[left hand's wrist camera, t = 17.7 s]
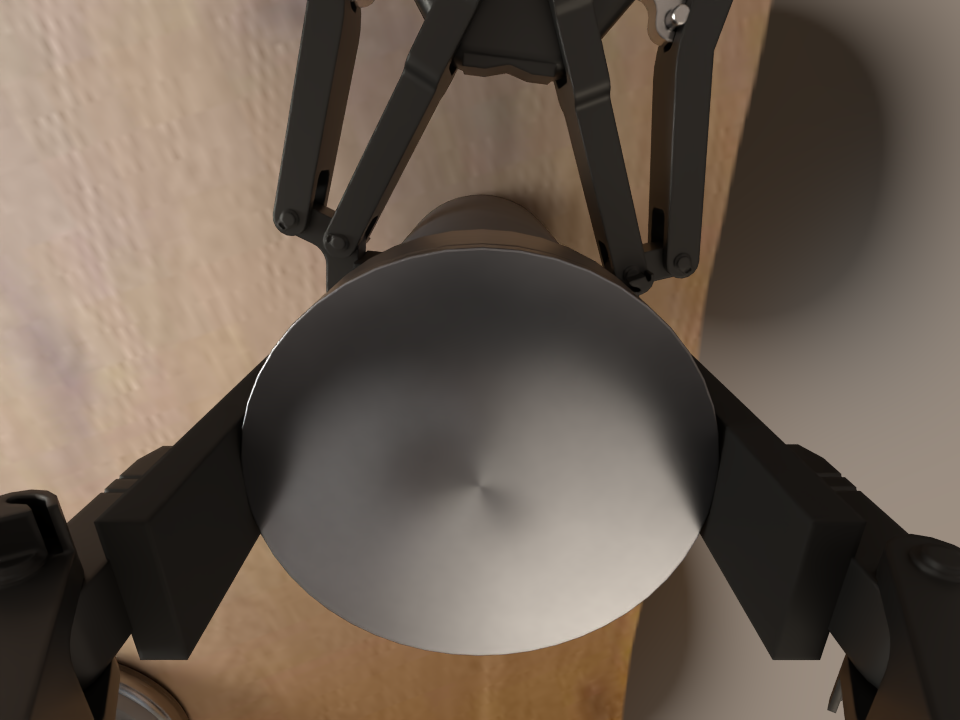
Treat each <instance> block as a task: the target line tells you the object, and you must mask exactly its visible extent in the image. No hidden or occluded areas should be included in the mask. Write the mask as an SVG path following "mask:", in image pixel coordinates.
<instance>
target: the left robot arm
mask: <svg viewBox="0 0 960 720" xmlns="http://www.w3.org/2000/svg"><path fill="white" fill-rule="evenodd" d="M691 355H692V354H691ZM268 356H269V355H268ZM268 356H267V357H266V358H265V359H264V360H263V361H262V362H260V363H259V364H258V365H257V366H256V367H255V368H254V369H253V370H252V371H251V372H250V373H249V374H248V375H247V376H246V377H245V378H244V379H243V380H242V381H241V382H240V383H238V384H237V385H236V386H235V387H234V388H233V389H232V390H231V391H230V392H229V393H228V394H227V395H226V396H225V397H224V398H223V399H222V400H221V401H220V402H219V403H218V404H216V405H215V406H214V407H213V408H212V409H211V410H210V411H209V412H208V413H207V414H206V415H205V416H204V417H203V418H202V419H201V420H200V421H199V422H198V423H197V424H196V425H194V426H193V427H192V428H191V429H190V430H189V431H188V432H187V433H186V434H185V435H184V436H183V437H182V438H181V439H180V440H179V441H178V442H177V443H176V444H175V445H174V446H162V447H160V448H158V449H157V450H155V451H153V452H151V453H149V454H147V455H146V456H144V457H142V458H140V459H138V460H137V461H136V462H135V463H133V464H132V465H131V466H130V467H129V468H128V469H127V470H126V471H125V472H123V473H122V474H121V475H120V478H119V479H116V480H115V481H113V482H112V483H111V484H110V485H109V486H108V487H107V488H106V489H105V492H104V493H100V494H99V495H98V496H97V497H96V498H94V499H93V500H92V501H91V502H90V503H89V504H88V505H87V506H85V507H84V508H83V509H82V510H81V511H80V512H79V513H78V514H77V515H75V516H74V517H73V518H72V519H71V520H70V521H69V522H68V523H66V520H65V517H64V515H63V512H62V509H61V506H60V504H59V501H58V498H57V496H56V495H54V494H53V493H51V492H49V491H45V490H26V491H19V492H12V493H8V494H4V495H1V496H0V720H189V719H188V717H187V715H186V713H185V712H184V710H183V709H182V707H181V706H180V704H179V703H178V702H177V701H176V700H175V699H174V698H173V696H172V695H171V694H170V693H168V692H167V691H166V690H165V689H164V688H163V687H161V686H160V685H159V684H157V683H156V682H154V681H153V680H151V679H150V678H148V677H146V676H145V675H143V674H141V673H139V672H137V671H135V670H133V669H131V668H128V667H126V666H123V665H121V664H118V663H117V660H116V658H115V655H116V654H117V652H118V651H119V650H120V648H121V647H122V646H123V644H124V643H125V641H126V640H127V639H128V637H129V636H130V635H131V634H132V637H133V640H134V643H135V646H136V649H137V651H138V654H139V657H140V660H188V658H189V656H190V655H191V653H192V651H193V649H194V648H195V646H196V644H197V643H198V641H199V639H200V637H201V636H202V634H203V632H204V630H205V629H206V627H207V625H208V623H209V622H210V620H211V618H212V617H213V615H214V613H215V611H216V610H217V608H218V606H219V604H220V603H221V601H222V599H223V597H224V596H225V594H226V592H227V591H228V589H229V587H230V585H231V584H232V582H233V580H234V578H235V577H236V575H237V573H238V571H239V570H240V568H241V566H242V565H243V563H244V561H245V559H246V558H247V556H248V554H249V552H250V551H251V549H252V547H253V545H254V544H255V542H256V540H257V539H258V537H259V535H260V531H259V529H258V526H257V524H256V522H255V519H254V517H253V515H252V512H251V510H250V506H249V503H248V498H247V494H246V489H245V485H244V479H243V474H242V466H241V437H242V426H243V421H244V417H245V412H246V407H247V402H248V399H249V397H250V394H251V391H252V389H253V386H254V383H255V381H256V378H257V375H258V374H259V372H260V370H261V368H262V367H263V365H264V363H265V361H266V360H267V358H268ZM692 357H693V359H694V361H695V363H696V365H697V367H698V368H699V370H700V372H701V374H702V376H703V378H704V380H705V383H706V385H707V388H708V391H709V394H710V397H711V400H712V403H713V405H714V410H715V416H716V421H717V427H718V432H719V468H718V475H717V481H716V486H715V491H714V496H713V499H712V503H711V506H710V510H709V513H708V515H707V518H706V520H705V522H704V524H703V526H702V529H701V531H700V535H701V536H702V538H703V540H704V541H705V543H706V545H707V547H708V548H709V550H710V552H711V554H712V555H713V557H714V559H715V561H716V562H717V564H718V566H719V567H720V569H721V571H722V573H723V574H724V576H725V578H726V580H727V581H728V583H729V585H730V587H731V588H732V590H733V592H734V593H735V595H736V597H737V599H738V600H739V602H740V604H741V606H742V607H743V609H744V611H745V613H746V614H747V616H748V618H749V619H750V621H751V623H752V625H753V626H754V628H755V630H756V632H757V633H758V635H759V637H760V638H761V640H762V642H763V644H764V645H765V647H766V649H767V651H768V652H769V654H770V656H771V658H772V659H773V660H820V658H821V656H822V653H823V650H824V647H825V644H826V641H827V638H828V635H829V632H830V633H831V634H832V635H833V637H834V638H835V640H836V641H837V642H838V644H839V645H840V646H841V648H842V649H843V650H844V652H845V653H846V655H845V658H844V660H843V663H842V666H841V669H840V671H839V674H838V677H837V680H836V682H835V685H834V688H833V691H832V694H831V696H830V699H829V704H828V710H829V711H832V712H834V713H836V711H837V708H838V706H839V703H840V701H842V700H843V707H844V716H845V720H960V548H959V547H957V546H955V545H952V544H950V543H947V542H944V541H941V540H938V539H935V538H932V537H927V536H921V535H914V534H908V533H907V532H906V531H905V530H904V529H902V528H901V527H900V526H899V525H898V524H897V523H896V522H895V521H894V520H892V519H891V518H890V517H889V516H888V515H887V514H886V513H885V512H883V511H882V510H881V509H880V508H879V507H878V506H877V505H875V504H874V503H873V502H872V501H871V500H870V499H869V498H868V497H867V496H865V495H864V494H863V493H862V492H861V491H857V490H856V487H855V486H854V485H853V484H852V483H851V482H850V481H849V480H847V479H846V478H845V477H841V473H840V472H838V471H837V470H836V469H835V468H834V467H833V466H832V465H831V464H829V463H828V462H827V461H826V460H825V459H824V458H822V457H820V456H819V455H817V454H815V453H813V452H811V451H809V450H807V449H806V448H804V447H802V446H800V445H798V444H785V443H784V442H783V441H782V440H781V439H780V438H778V437H777V436H776V435H775V434H774V433H773V432H772V431H771V430H770V429H769V428H768V427H767V426H766V425H765V424H764V423H763V422H762V421H761V420H760V419H758V418H757V417H756V416H755V415H754V414H753V413H752V412H751V411H750V410H749V409H748V408H747V407H746V406H745V405H744V404H743V403H742V402H741V401H740V400H739V399H738V398H736V396H734V395H733V394H732V393H731V392H730V391H729V390H728V389H727V388H726V387H725V386H724V385H723V384H722V383H721V382H720V381H719V380H718V379H717V378H716V377H714V375H712V374H711V373H710V372H709V371H708V370H707V369H706V368H705V367H704V366H703V365H702V364H701V363H700V362H699V361H698V360H697V359H696V358H695V357H694V356H693V355H692Z"/></svg>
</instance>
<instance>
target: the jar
mask: <svg viewBox="0 0 960 720" xmlns="http://www.w3.org/2000/svg"><path fill="white" fill-rule="evenodd" d="M477 229H486V230H499V231H512V232H517V233H522V234H526V235H531V236H535V237H540V238H544V239H546V240H549V241H552V242H555V243H557V244H559V243H558V242H557V241H556V240H555V239H554V237H553V236H552V235H551V234H550V233H549V232H548V230H547V229H546V228H545V227H544V226H543V225H542V224H541V222H540V221H539V220H538V219H537V218H536V217H535V216H534V215H532V214H531V213H530V212H529V211H527V210H526V209H525V208H523V207H522V206H520V205H518V204H516V203H514V202H512V201H509V200H506V199H504V198H500V197H495V196H489V195H471V196H465V197H460V198H457V199H454V200H451V201H448V202H446V203H444V204H442V205H440V206H439V207H437V208H436V209H434V210H433V211H431V212H430V213H429V214H428V215H427V216H426V217H425V218H423V219H422V221H421V222H420V223H419V224H418V225H417V226H416V227H415V229H414V230H413V231H412V232H411V233H410V234H409V235H408V237H407V238H406V239H405V240H404V241H403V242H402V244H403V243H405V242H408V241H411V240H414V239H417V238H420V237H423V236H429V235H434V234H439V233H444V232H449V231H460V230H477Z"/></svg>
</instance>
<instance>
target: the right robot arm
mask: <svg viewBox="0 0 960 720" xmlns="http://www.w3.org/2000/svg"><path fill="white" fill-rule="evenodd" d="M414 1H415V2H416V4H417V6H418V8H419V10H420V12H421V14H422V16H423V18H424V20H425V21H424V23H423V25H422V27H421V29H420V31H419V33H418V35H417V37H416V39H415V41H414V44H413V46H412V48H411V50H410V52H409V54H408V56H407V59H406V62H405V67H404V70H403V73H402V75H401V77H400V79H399V81H398V83H397V85H396V87H395V90H394V92H393V94H392V96H391V98H390V100H389V102H388V104H387V106H386V108H385V110H384V112H383V114H382V116H381V118H380V121H379V123H378V125H377V127H376V129H375V131H374V133H373V135H372V137H371V139H370V141H369V143H368V145H367V147H366V149H365V151H364V154H363V156H362V158H361V160H360V162H359V164H358V166H357V168H356V170H355V172H354V174H353V176H352V178H351V180H350V182H349V184H348V187H347V189H346V191H345V193H344V195H343V197H342V199H341V201H340V203H339V205H338V207H337V209H336V211H334V210H332V209H330V208H328V207H326V206H327V201H328V196H329V191H330V186H331V181H332V176H333V171H334V165H335V160H336V155H337V150H338V145H339V140H340V135H341V130H342V125H343V120H344V115H345V110H346V105H347V99H348V94H349V89H350V84H351V79H352V74H353V69H354V64H355V59H356V54H357V49H358V43H359V36H360V29H361V7H367V6H369V5H371V4H372V3H373V2H374V0H307V6H306V12H305V18H304V24H303V31H302V37H301V43H300V49H299V55H298V62H297V68H296V74H295V80H294V86H293V93H292V99H291V105H290V111H289V118H288V124H287V130H286V136H285V142H284V149H283V155H282V161H281V167H280V173H279V180H278V186H277V192H276V198H275V204H274V211H273V221H274V224H275V226H276V228H277V229H278V230H279V231H280V232H281V233H283V234H285V235H289V236H295V235H296V236H298V237H300V238H302V239H304V240H306V241H308V242H311V243H313V244H314V245H316V246H317V247H318V248H319V249H320V250H321V251H322V252H323V254H324V256H325V259H326V293H327V292H328V291H329V290H330V289H331V288H332V287H333V286H334V285H335V284H337V283H338V282H339V281H340V280H341V279H342V278H343V277H344V276H345V275H347V274H348V273H350V272H351V271H352V270H354V269H355V268H357V267H358V266H360V265H361V264H363V263H364V262H365V261H367V260H368V259H370V258H372V257H374V256H376V255H378V254H380V253H382V252H377V251H367V252H366V243H367V242H368V241H369V240H370V237H369V236H370V235H371V233H372V231H373V229H374V227H375V225H376V223H377V221H378V219H379V217H380V215H381V213H382V211H383V209H384V207H385V206H386V204H387V202H388V200H389V198H390V196H391V194H392V192H393V190H394V188H395V186H396V184H397V182H398V180H399V178H400V177H401V175H402V173H403V171H404V169H405V167H406V165H407V163H408V161H409V159H410V157H411V155H412V153H413V151H414V149H415V148H416V146H417V144H418V142H419V140H420V138H421V136H422V134H423V132H424V130H425V128H426V126H427V124H428V122H429V120H430V118H431V117H432V115H433V113H434V111H435V109H436V107H437V105H438V103H439V101H440V99H441V98H442V96H443V95H444V94H445V92H446V90H447V89H448V87H449V85H450V83H451V81H452V79H453V77H454V75H455V73H456V71H457V69H460V70H462V71H464V74H466V75H474V76H482V77H486V76H492V75H498V74H503V73H508V74H510V75H512V76H515V77H517V78H519V79H521V80H524V81H526V82H531V83H539V84H547V85H548V84H549V82H551V81H554V85H555V88H556V92H557V96H558V100H559V104H560V107H561V109H562V111H563V113H564V116H565V119H566V123H567V127H568V131H569V135H570V139H571V143H572V147H573V151H574V155H575V159H576V163H577V167H578V171H579V175H580V179H581V183H582V187H583V191H584V195H585V199H586V203H587V207H588V211H589V215H590V219H591V223H592V227H593V231H594V234H595V238H596V242H597V246H598V250H599V254H600V258H601V262H602V266H603V268H605V269H606V270H608V271H609V272H610V273H612V274H613V275H614V276H616V277H617V278H618V279H619V280H621V281H622V282H623V283H624V284H625V285H626V286H627V287H628V288H629V289H630V290H632V291H633V292H634V293H635V294H636V295H637V296H638V297H639V295H641V294H643V293H645V292H647V291H648V290H649V289H650V288H651V287H652V284H653V282H654V281H657V280H661V279H665V278H670V277H676V278H685V277H688V276H690V275H691V274H693V273H694V272H695V270H696V269H697V267H698V264H699V256H700V241H701V227H702V213H703V198H704V184H705V170H706V156H707V141H708V127H709V113H710V98H711V84H712V70H713V55H714V49H715V46H716V44H717V41H718V39H719V36H720V33H721V31H722V28H723V25H724V23H725V20H726V17H727V15H728V12H729V10H730V7H731V4H732V2H733V0H638V1H640V2H642V3H643V4H644V5H645V7H646V9H647V11H648V28H647V30H648V35H649V37H650V40H651V41H652V42H653V43H655V44H656V45H658V46H659V47H658V51H657V55H656V61H655V66H654V77H653V100H652V130H651V161H650V191H649V222H648V243H645V244H642V241H641V236H640V232H639V227H638V223H637V218H636V213H635V209H634V204H633V200H632V195H631V191H630V186H629V182H628V177H627V173H626V168H625V163H624V159H623V154H622V150H621V145H620V141H619V136H618V132H617V127H616V123H615V118H614V113H613V109H612V104H611V99H610V88H611V87H610V78H609V73H608V68H607V64H606V59H605V54H604V50H603V45H602V41H601V39H602V38H603V37H604V36H605V35H606V33H607V32H608V31H609V30H610V29H611V28H612V26H613V25H614V24H615V23H616V22H617V21H618V19H619V18H620V17H621V16H622V15H623V14H624V12H625V11H626V10H627V9H628V8H629V7H630V5H631V4H632V3H633V2H634V1H635V0H414Z"/></svg>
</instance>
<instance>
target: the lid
mask: <svg viewBox="0 0 960 720" xmlns="http://www.w3.org/2000/svg"><path fill="white" fill-rule="evenodd" d="M241 466H242V474H243V479H244V485H245V489H246V494H247V498H248V503H249V506H250V510H251V512H252V515H253V517H254V519H255V522H256V524H257V526H258V529H259V531H260V533H261V535H262V537H263V538H264V540H265V542H266V543H267V545H268V547H269V548H270V550H271V552H272V553H273V555H274V556H275V558H276V559H277V560H278V561H279V563H280V564H281V565H282V566H283V568H284V569H285V570H286V571H287V573H288V574H289V575H290V576H291V577H292V578H293V579H294V580H295V581H296V582H297V583H298V584H299V585H300V586H301V587H302V588H303V589H304V590H305V591H306V592H307V593H308V594H309V595H310V596H312V597H313V598H314V599H316V600H317V601H318V602H319V603H321V604H322V605H323V606H325V607H326V608H327V609H328V610H330V611H332V612H333V613H335V614H336V615H338V616H340V617H341V618H343V619H345V620H346V621H348V622H349V623H351V624H353V625H355V626H357V627H359V628H362V629H364V630H366V631H368V632H370V633H372V634H374V635H377V636H379V637H382V638H385V639H388V640H391V641H393V642H396V643H399V644H403V645H407V646H411V647H415V648H419V649H423V650H427V651H434V652H441V653H447V654H458V655H476V656H481V655H505V654H512V653H520V652H527V651H533V650H537V649H541V648H546V647H550V646H554V645H558V644H561V643H564V642H567V641H570V640H573V639H576V638H579V637H581V636H584V635H586V634H588V633H590V632H592V631H595V630H597V629H599V628H601V627H603V626H605V625H607V624H609V623H610V622H612V621H614V620H616V619H617V618H619V617H621V616H622V615H624V614H626V613H627V612H629V611H630V610H631V609H633V608H634V607H636V606H637V605H638V604H640V603H641V602H642V601H644V600H645V599H646V598H648V597H649V596H650V595H651V594H652V593H653V592H654V591H655V590H656V589H657V588H658V587H659V586H660V585H661V584H663V583H664V582H665V581H666V580H667V579H668V578H669V576H670V575H671V574H672V573H673V571H674V570H675V569H676V568H677V567H678V565H679V564H680V563H681V562H682V561H683V559H684V558H685V556H686V555H687V553H688V552H689V550H690V548H691V547H692V545H693V544H694V542H695V541H696V539H697V537H698V535H699V533H700V531H701V529H702V526H703V524H704V522H705V520H706V518H707V515H708V513H709V510H710V506H711V503H712V499H713V496H714V491H715V486H716V481H717V475H718V468H719V432H718V427H717V421H716V416H715V410H714V405H713V403H712V400H711V397H710V394H709V391H708V388H707V385H706V383H705V380H704V378H703V376H702V374H701V372H700V370H699V368H698V367H697V365H696V363H695V361H694V359H693V357H692V355H691V354H690V352H689V351H688V349H687V348H686V347H685V345H684V344H683V343H682V342H681V340H680V339H679V338H678V336H677V335H676V334H675V332H674V331H673V330H672V328H671V327H670V326H669V325H668V324H667V323H666V322H665V321H664V320H662V319H661V318H660V317H659V316H658V315H657V314H656V313H655V312H654V311H653V310H652V309H651V308H650V307H649V306H648V305H647V304H646V303H645V302H644V301H642V300H641V299H640V298H639V297H638V296H637V295H636V294H635V293H634V292H633V291H632V290H630V289H629V288H628V287H627V286H626V285H625V284H624V283H623V282H622V281H621V280H619V279H618V278H617V277H616V276H614V275H613V274H612V273H610V272H609V271H608V270H606V269H605V268H603V267H602V266H601V265H599V264H598V263H596V262H595V261H593V260H591V259H590V258H588V257H586V256H584V255H582V254H580V253H578V252H576V251H574V250H572V249H571V248H568V247H566V246H563V245H560V244H557V243H555V242H552V241H549V240H546V239H544V238H540V237H535V236H531V235H526V234H522V233H517V232H512V231H499V230H486V229H477V230H460V231H449V232H444V233H439V234H434V235H429V236H423V237H420V238H417V239H414V240H411V241H408V242H405V243H403V244H400V245H397V246H394V247H392V248H390V249H388V250H386V251H384V252H382V253H380V254H378V255H376V256H374V257H372V258H370V259H368V260H367V261H365V262H364V263H363V264H361V265H360V266H358V267H357V268H355V269H354V270H352V271H351V272H350V273H348V274H347V275H345V276H344V277H343V278H342V279H341V280H340V281H339V282H338V283H337V284H335V285H334V286H333V287H332V288H331V289H330V290H329V291H328V292H327V293H326V294H324V295H323V296H322V297H321V298H320V299H319V300H318V301H317V302H316V303H315V304H314V305H312V306H311V307H310V308H309V309H308V310H307V311H306V312H305V313H304V314H303V315H302V316H301V317H299V318H298V319H297V320H296V321H295V322H294V323H293V324H292V325H291V326H290V328H289V329H288V330H287V331H286V333H285V334H284V335H283V336H282V338H281V339H280V340H279V341H278V343H277V344H276V345H275V346H274V348H273V349H272V351H271V353H270V354H269V356H268V358H267V360H266V361H265V363H264V365H263V367H262V368H261V370H260V372H259V374H258V375H257V378H256V381H255V383H254V386H253V389H252V391H251V394H250V397H249V399H248V402H247V407H246V412H245V417H244V421H243V426H242V437H241Z"/></svg>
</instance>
